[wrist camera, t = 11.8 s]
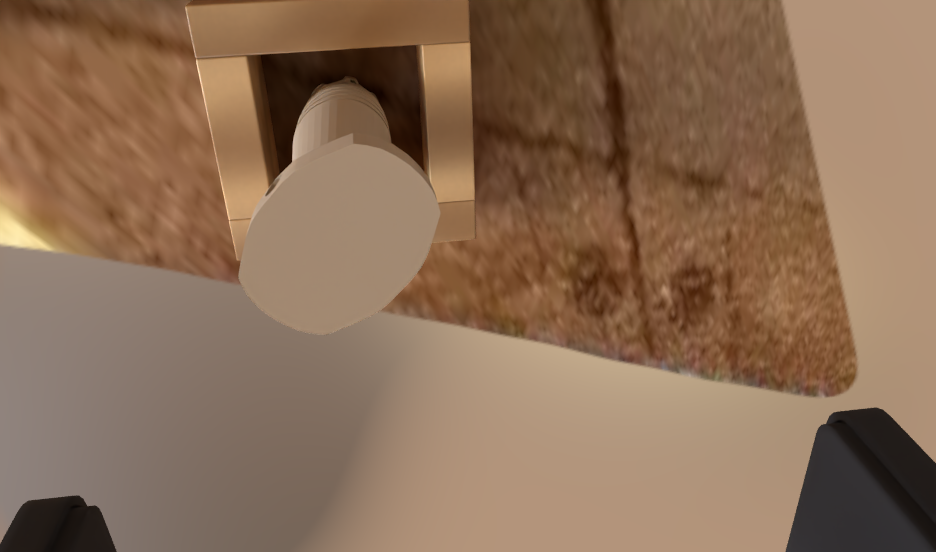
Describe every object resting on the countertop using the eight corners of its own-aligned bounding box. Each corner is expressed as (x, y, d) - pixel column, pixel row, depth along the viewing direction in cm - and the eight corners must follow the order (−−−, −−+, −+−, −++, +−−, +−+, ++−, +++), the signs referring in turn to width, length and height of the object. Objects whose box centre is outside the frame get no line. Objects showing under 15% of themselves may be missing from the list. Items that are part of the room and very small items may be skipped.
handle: (427, 90, 35) (472, 215, 22) (341, 187, 36) (336, 358, 23) (346, 19, 33) (342, 110, 20) (260, 126, 34) (204, 275, 21)
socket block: (202, -9, 31) (184, 5, 28) (456, -22, 33) (469, -10, 29) (247, 224, 37) (236, 261, 33) (465, 206, 38) (476, 239, 34)
